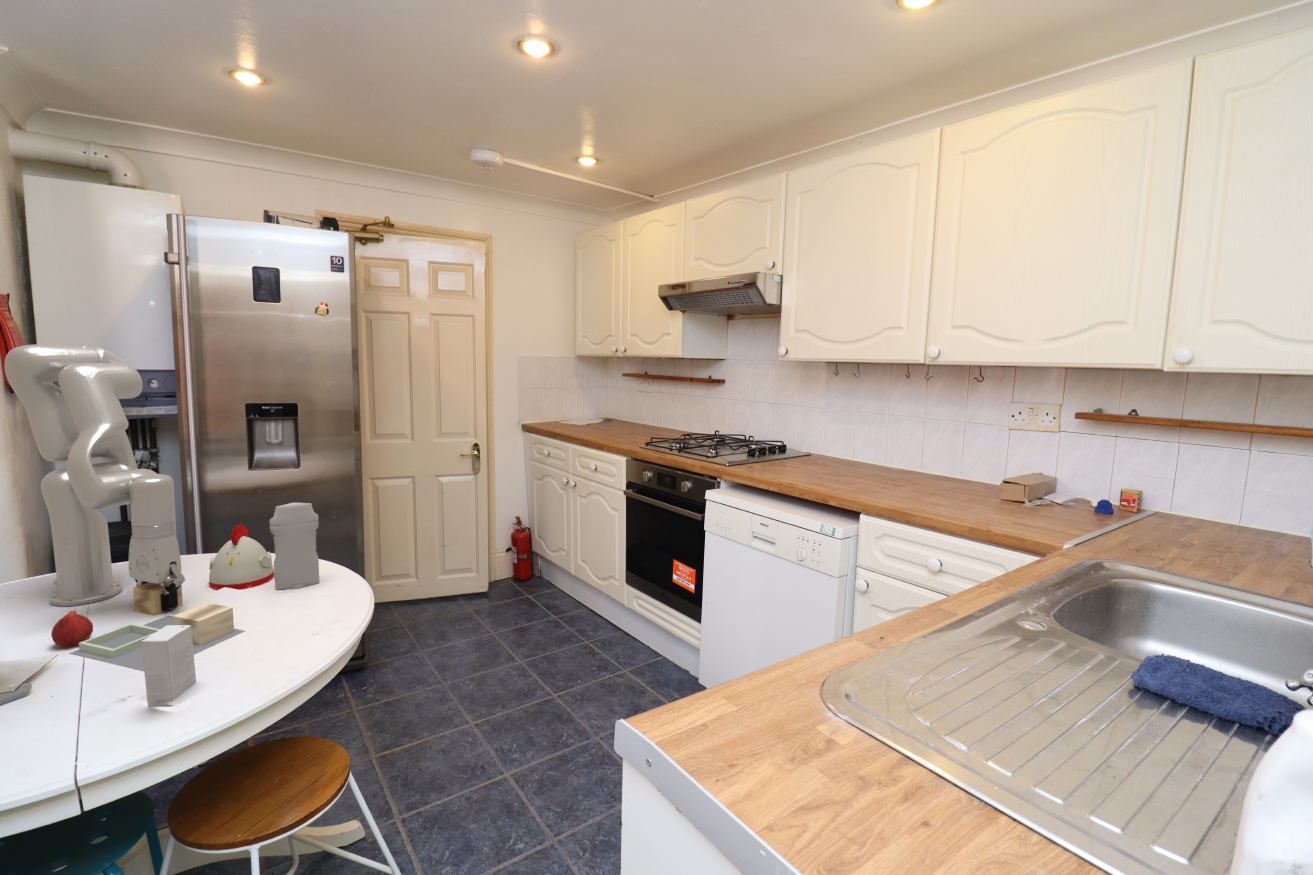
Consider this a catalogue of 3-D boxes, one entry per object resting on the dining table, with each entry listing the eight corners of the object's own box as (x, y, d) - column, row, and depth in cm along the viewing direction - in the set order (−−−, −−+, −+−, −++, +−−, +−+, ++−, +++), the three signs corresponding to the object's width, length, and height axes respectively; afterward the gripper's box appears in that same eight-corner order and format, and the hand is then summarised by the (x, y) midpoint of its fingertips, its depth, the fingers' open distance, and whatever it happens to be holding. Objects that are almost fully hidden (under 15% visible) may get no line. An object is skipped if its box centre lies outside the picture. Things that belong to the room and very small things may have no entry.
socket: (79, 650, 115) (78, 642, 115) (132, 629, 124) (131, 623, 123) (113, 658, 112) (112, 650, 112) (164, 636, 121) (164, 629, 121)
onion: (68, 657, 114) (64, 618, 113) (45, 653, 115) (41, 614, 114) (102, 643, 120) (98, 606, 119) (79, 640, 121) (75, 602, 120)
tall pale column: (273, 592, 148) (268, 506, 145) (272, 587, 151) (268, 503, 148) (322, 584, 154) (318, 502, 151) (320, 579, 157) (316, 498, 154)
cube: (134, 612, 132) (133, 587, 131) (163, 602, 138) (162, 577, 137) (154, 617, 131) (152, 591, 130) (182, 606, 136) (181, 582, 136)
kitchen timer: (198, 592, 146) (194, 533, 144) (224, 572, 160) (221, 518, 158) (261, 589, 150) (258, 531, 148) (282, 570, 163) (279, 517, 161)
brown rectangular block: (174, 639, 120) (172, 615, 120) (209, 624, 127) (207, 602, 126) (200, 644, 118) (198, 621, 118) (234, 629, 125) (232, 607, 124)
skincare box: (172, 687, 105) (166, 624, 104) (197, 687, 106) (192, 624, 104) (145, 707, 99) (139, 640, 98) (172, 707, 100) (167, 640, 98)
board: (69, 659, 114) (69, 653, 114) (169, 620, 131) (168, 615, 131) (153, 679, 108) (152, 673, 108) (245, 636, 125) (245, 630, 125)
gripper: (107, 529, 130) (112, 606, 133) (165, 540, 126) (169, 620, 128) (144, 520, 137) (149, 593, 140) (200, 530, 133) (204, 606, 135)
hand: (158, 605), depth 134 cm, fingers closed on cube, 6 cm apart
